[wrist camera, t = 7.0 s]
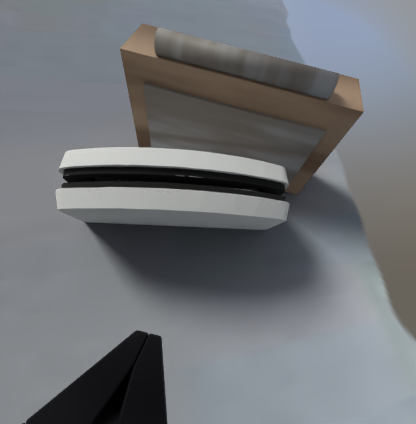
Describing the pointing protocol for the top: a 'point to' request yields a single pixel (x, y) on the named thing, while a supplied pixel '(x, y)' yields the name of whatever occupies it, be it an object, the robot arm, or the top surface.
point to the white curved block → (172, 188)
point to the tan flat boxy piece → (236, 102)
